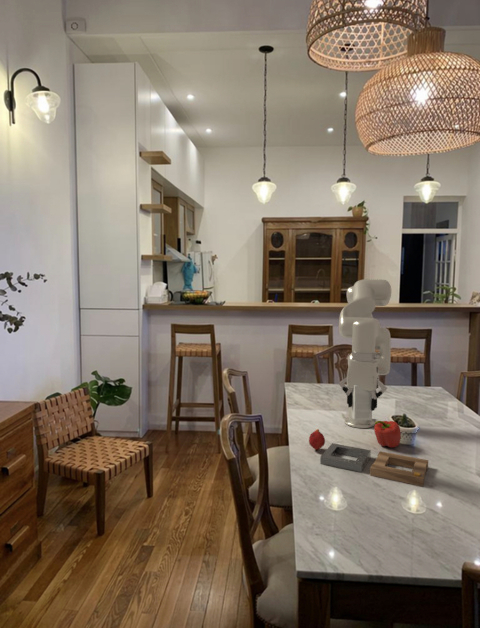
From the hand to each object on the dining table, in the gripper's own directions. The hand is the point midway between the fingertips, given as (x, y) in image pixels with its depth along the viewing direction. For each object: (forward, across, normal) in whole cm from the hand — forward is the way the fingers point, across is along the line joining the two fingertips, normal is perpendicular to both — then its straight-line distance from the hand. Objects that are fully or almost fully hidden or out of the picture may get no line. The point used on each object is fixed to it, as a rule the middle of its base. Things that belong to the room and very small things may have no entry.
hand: (361, 407), depth 154 cm
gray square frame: (+20, +5, 0) cm, 20 cm away
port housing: (+20, -13, 0) cm, 24 cm away
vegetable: (+20, -5, -21) cm, 29 cm away
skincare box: (+4, 0, 0) cm, 4 cm away
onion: (+20, +17, -4) cm, 26 cm away
